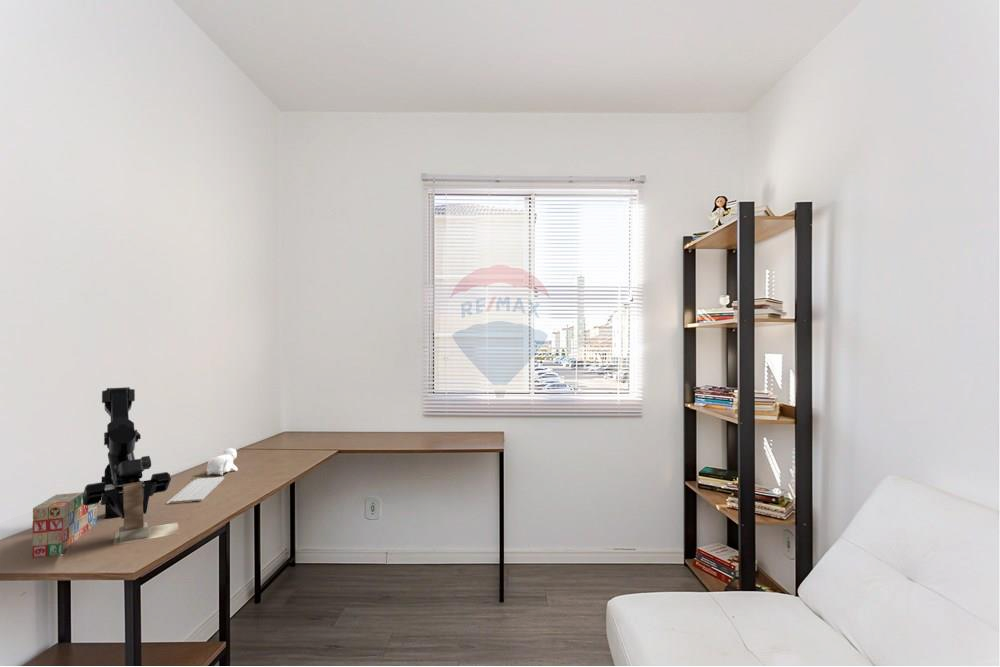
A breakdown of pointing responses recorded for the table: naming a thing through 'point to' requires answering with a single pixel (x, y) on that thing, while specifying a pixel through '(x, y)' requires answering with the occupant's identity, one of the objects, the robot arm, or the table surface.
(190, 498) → the baseboard molding
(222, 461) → the white lumpy figurine
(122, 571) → the table surface
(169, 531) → the board
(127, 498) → the block
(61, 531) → the stack of blocks
